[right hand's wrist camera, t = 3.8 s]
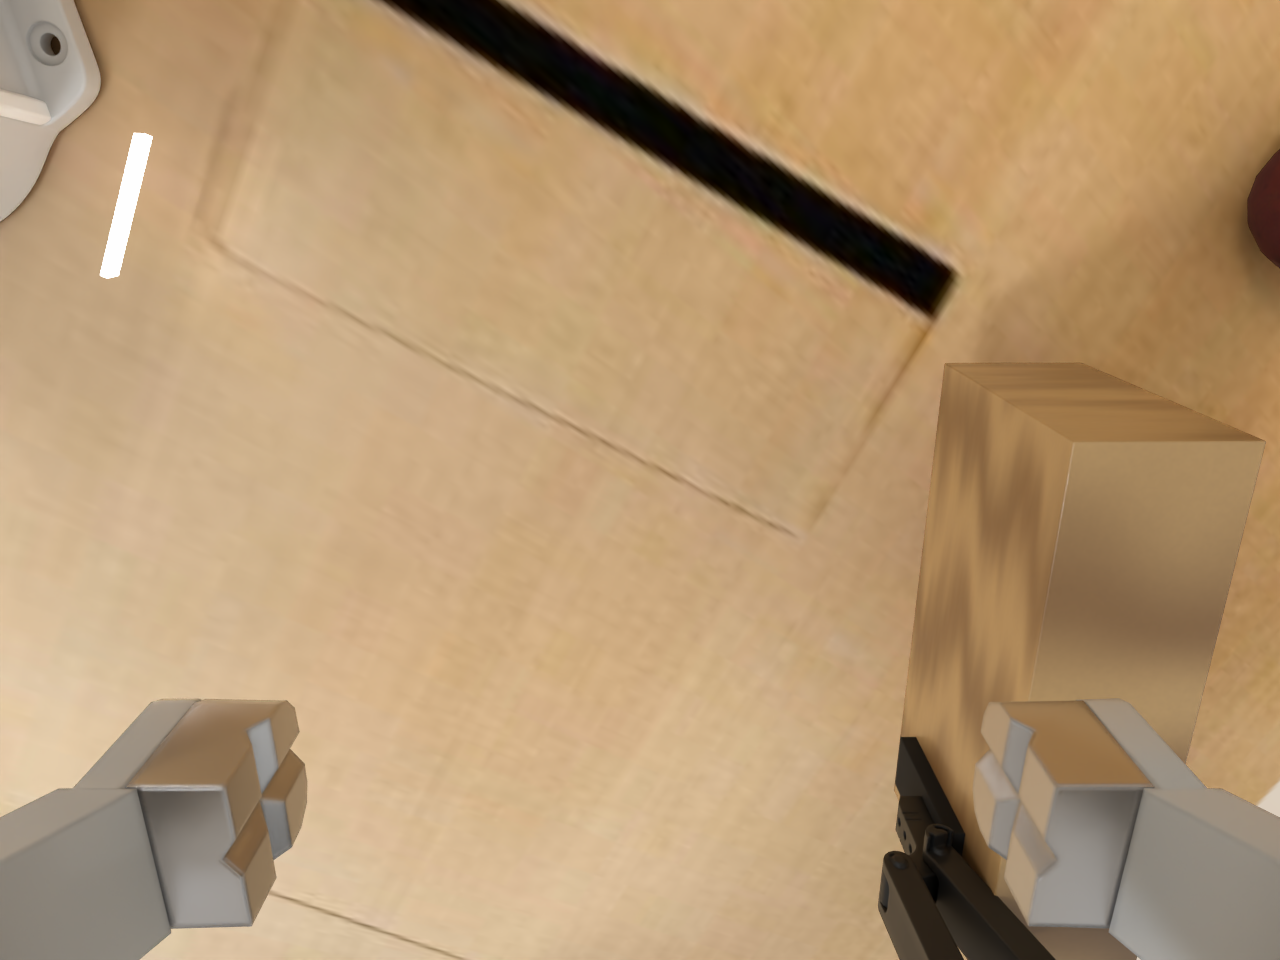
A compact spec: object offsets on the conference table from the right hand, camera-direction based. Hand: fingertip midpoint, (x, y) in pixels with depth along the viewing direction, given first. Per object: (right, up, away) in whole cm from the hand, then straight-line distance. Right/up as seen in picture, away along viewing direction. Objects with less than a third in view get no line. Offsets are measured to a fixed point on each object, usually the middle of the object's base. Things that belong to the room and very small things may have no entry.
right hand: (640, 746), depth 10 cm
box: (+16, -2, +31) cm, 35 cm away
